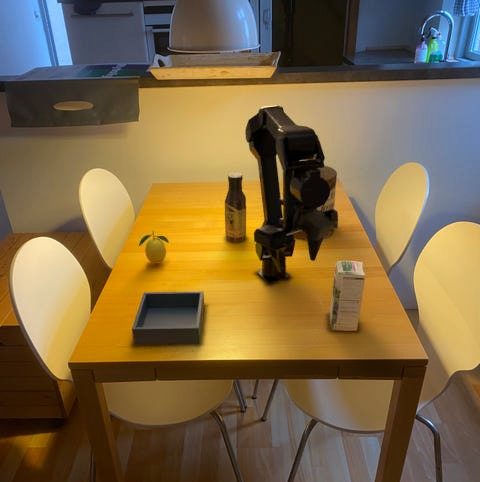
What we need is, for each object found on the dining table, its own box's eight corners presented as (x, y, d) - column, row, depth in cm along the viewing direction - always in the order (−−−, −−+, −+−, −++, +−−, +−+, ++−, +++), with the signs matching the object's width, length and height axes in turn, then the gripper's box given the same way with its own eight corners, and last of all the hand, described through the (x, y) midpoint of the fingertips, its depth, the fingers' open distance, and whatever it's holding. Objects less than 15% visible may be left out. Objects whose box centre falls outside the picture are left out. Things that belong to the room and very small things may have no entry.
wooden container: (327, 242, 138) (334, 169, 126) (278, 236, 142) (280, 164, 130) (335, 221, 150) (341, 152, 138) (290, 216, 154) (292, 149, 142)
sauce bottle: (222, 236, 143) (219, 172, 133) (241, 232, 145) (239, 169, 135) (230, 245, 138) (228, 179, 127) (250, 240, 140) (249, 176, 129)
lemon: (142, 268, 128) (136, 235, 123) (148, 257, 133) (143, 225, 127) (166, 269, 127) (161, 236, 122) (171, 258, 132) (167, 226, 127)
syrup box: (328, 315, 108) (334, 260, 100) (355, 316, 107) (362, 260, 100) (330, 330, 103) (336, 273, 95) (358, 331, 103) (366, 274, 95)
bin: (134, 344, 101) (131, 329, 98) (145, 307, 112) (143, 292, 110) (200, 343, 100) (198, 328, 98) (204, 306, 112) (203, 291, 110)
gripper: (288, 213, 84) (288, 291, 91) (359, 193, 94) (355, 265, 100) (250, 201, 92) (253, 273, 99) (319, 183, 102) (318, 251, 109)
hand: (296, 266), depth 102 cm, fingers open, 9 cm apart
